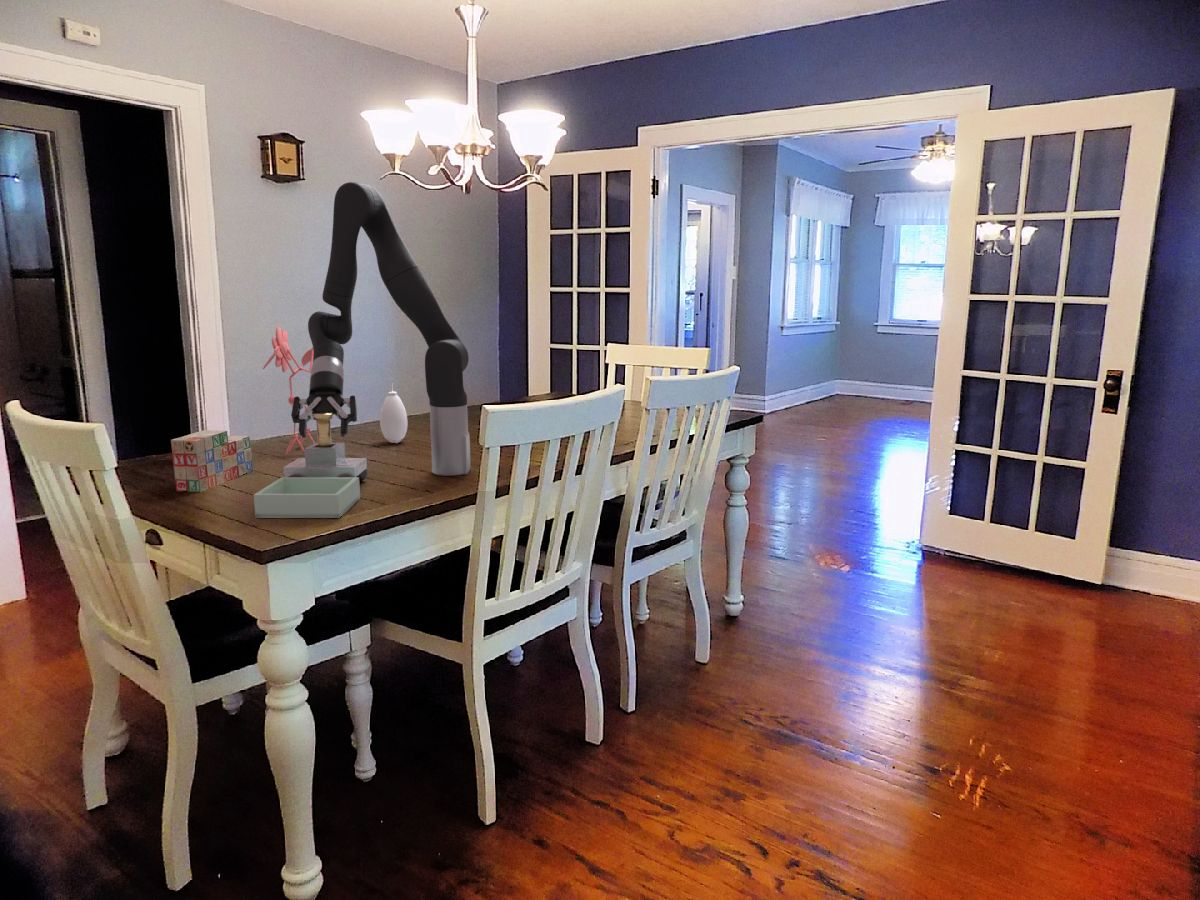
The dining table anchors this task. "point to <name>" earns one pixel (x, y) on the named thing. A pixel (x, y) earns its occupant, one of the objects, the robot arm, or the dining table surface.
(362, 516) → the dining table surface
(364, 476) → the trolley
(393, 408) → the sauce bottle
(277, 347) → the figurine
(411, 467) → the dining table surface
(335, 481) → the tray
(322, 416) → the pin
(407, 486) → the dining table surface
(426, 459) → the dining table surface
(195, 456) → the stack of blocks
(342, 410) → the robot arm
